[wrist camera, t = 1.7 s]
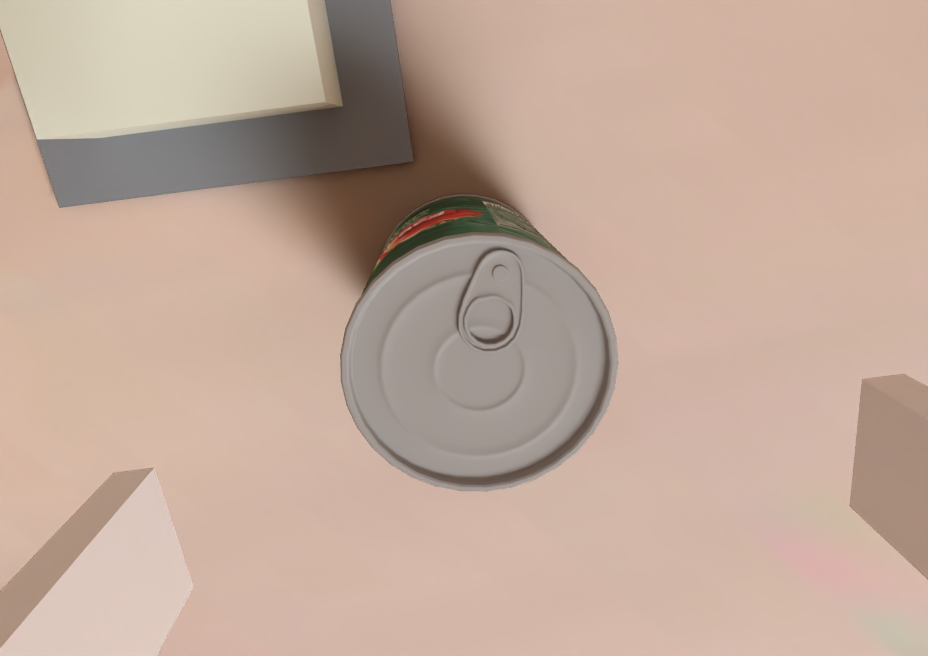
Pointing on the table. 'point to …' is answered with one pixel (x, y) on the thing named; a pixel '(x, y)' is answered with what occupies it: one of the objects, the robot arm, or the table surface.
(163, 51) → the cream base block
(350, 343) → the canned tomato
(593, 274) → the table surface
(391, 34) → the grey flat square
